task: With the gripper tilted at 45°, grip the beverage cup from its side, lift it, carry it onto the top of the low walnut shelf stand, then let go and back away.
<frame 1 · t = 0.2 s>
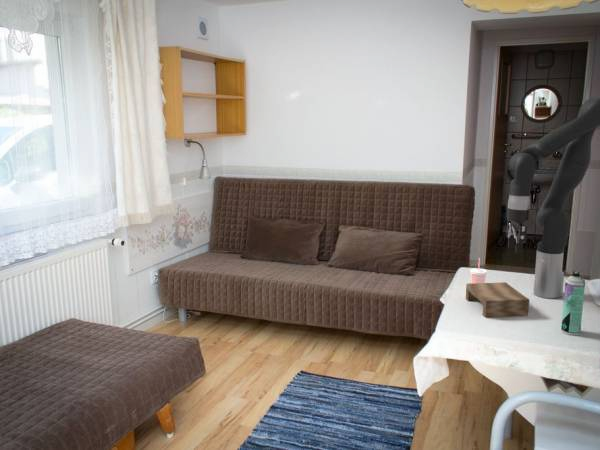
hand: (514, 250, 206), 18 cm above the table, tool pointing down, fingers open, 8 cm apart
beverage cup: (477, 293, 214), on the table
spray can: (570, 332, 176), on the table
walnut shelf stand: (495, 307, 198), on the table
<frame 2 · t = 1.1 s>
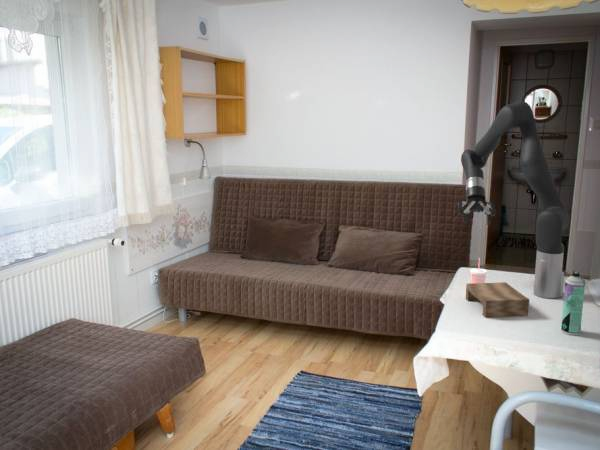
hand: (477, 223, 220), 25 cm above the table, tool tilted 45°, fingers open, 8 cm apart
nothing on the table moved.
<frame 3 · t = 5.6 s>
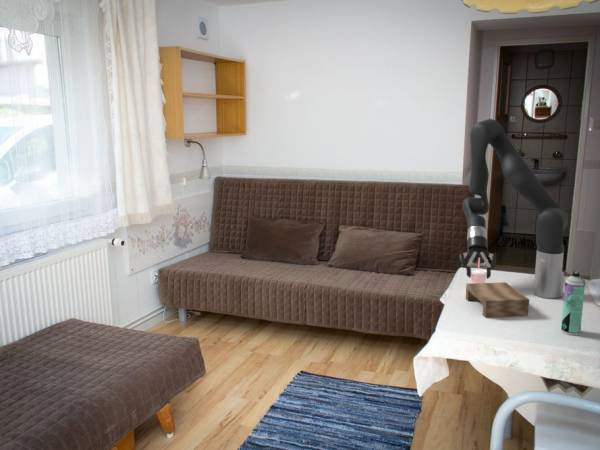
hand: (478, 277, 211), 7 cm above the table, tool tilted 45°, fingers closed on beverage cup, 6 cm apart
beverage cup: (477, 293, 214), on the table, touching gripper
everything else where it was.
when the fingers open (14 cm above the table, at t = 11.6 s): beverage cup drops 1 cm, resting on walnut shelf stand.
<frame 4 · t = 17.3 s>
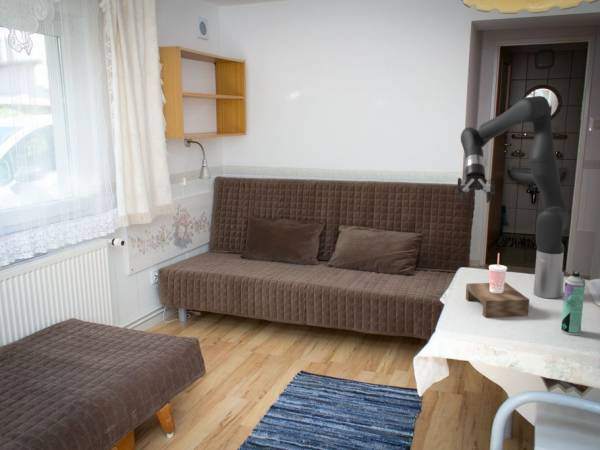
hand: (476, 201, 214), 35 cm above the table, tool tilted 45°, fingers open, 8 cm apart
beverage cup: (496, 291, 197), point 6 cm above the table, touching walnut shelf stand
everything else where it was.
at the end: beverage cup inside the target area on the walnut shelf stand (0.1 cm from its centre), point 5.8 cm above the walnut shelf stand's base; beverage cup tilted 0°; the gripper is holding nothing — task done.
